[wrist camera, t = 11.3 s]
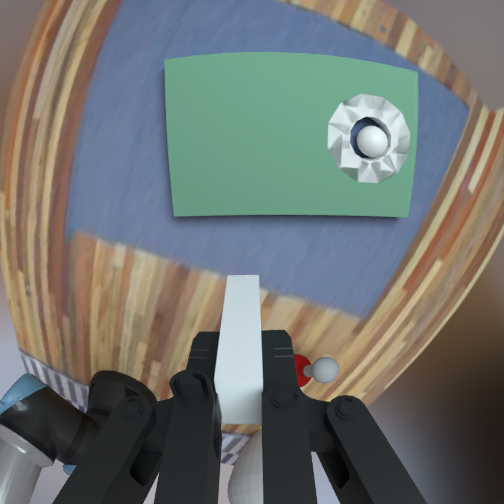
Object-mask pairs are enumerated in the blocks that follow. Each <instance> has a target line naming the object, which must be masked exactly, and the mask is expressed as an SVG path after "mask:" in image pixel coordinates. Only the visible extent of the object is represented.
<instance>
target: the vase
mask: <svg viewBox="0 0 504 504" xmlns="http://www.w3.org/2000/svg"><path fill="white" fill-rule="evenodd" d="M228 497H229V501H230V503H231V504H263V464H262V429H260V430H258V431H256V432H255V434H254V435H253V436H252V437H251V438H250V439H249V441H248V442H247V443H246V445H245V446H244V448H243V449H242V451H241V453H240V455H239V456H238V458H237V460H236V463H235V465H234V468H233V471H232V474H231V477H230V480H229V483H228Z"/></svg>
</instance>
